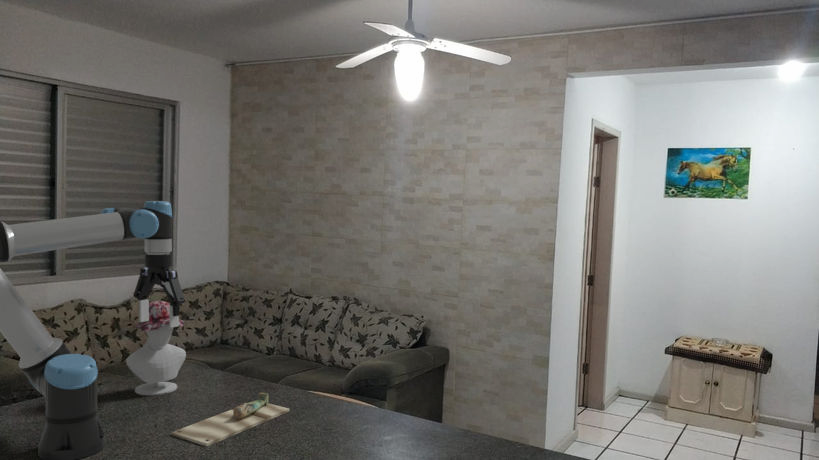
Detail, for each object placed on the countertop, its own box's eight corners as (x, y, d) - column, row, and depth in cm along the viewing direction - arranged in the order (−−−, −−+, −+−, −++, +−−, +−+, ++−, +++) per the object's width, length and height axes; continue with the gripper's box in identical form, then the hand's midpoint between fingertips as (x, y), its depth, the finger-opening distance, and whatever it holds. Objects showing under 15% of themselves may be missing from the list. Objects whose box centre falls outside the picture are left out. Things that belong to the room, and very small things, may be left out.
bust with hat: (139, 403, 197) (138, 308, 196) (120, 389, 211) (119, 300, 209) (198, 391, 210) (198, 302, 208) (176, 379, 223) (176, 294, 222)
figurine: (275, 406, 195) (275, 393, 195) (241, 421, 181) (241, 408, 181) (261, 403, 197) (261, 391, 197) (227, 418, 184) (226, 405, 183)
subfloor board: (207, 446, 166) (207, 443, 166) (171, 435, 173) (171, 431, 173) (289, 411, 193) (289, 408, 193) (256, 402, 200) (256, 400, 200)
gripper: (197, 255, 185) (197, 327, 186) (142, 249, 197) (143, 317, 199) (176, 257, 178) (176, 331, 179) (120, 251, 191) (121, 321, 192)
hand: (158, 324), depth 189 cm, fingers open, 13 cm apart
